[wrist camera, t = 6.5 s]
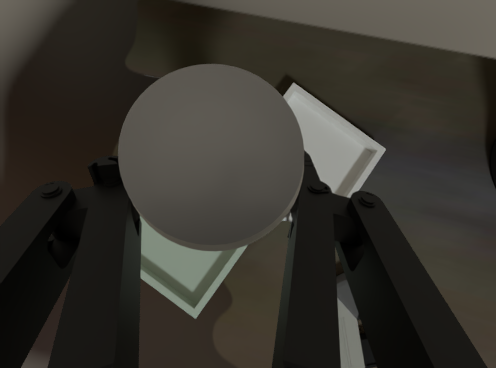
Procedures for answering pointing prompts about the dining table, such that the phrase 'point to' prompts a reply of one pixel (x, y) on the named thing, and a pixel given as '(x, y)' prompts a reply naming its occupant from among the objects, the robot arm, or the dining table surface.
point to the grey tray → (333, 144)
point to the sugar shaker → (211, 157)
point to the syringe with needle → (351, 330)
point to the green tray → (183, 269)
